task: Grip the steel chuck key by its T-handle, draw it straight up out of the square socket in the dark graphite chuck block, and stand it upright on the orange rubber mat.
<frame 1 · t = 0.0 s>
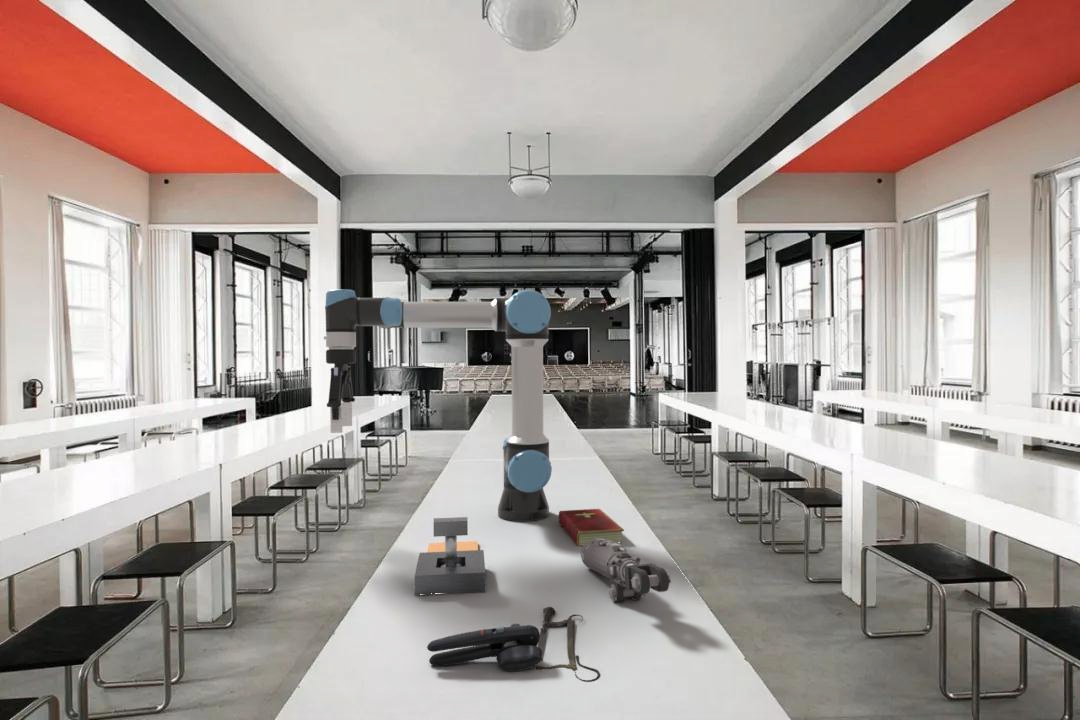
hand: (341, 429, 162), 28 cm above the table, tool pointing down, fingers open, 13 cm apart
key mat: (452, 553, 148), on the table
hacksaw: (568, 645, 102), on the table, touching can opener
chuck key: (451, 581, 130), resting in chuck block
can opener: (485, 664, 96), on the table, touching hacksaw
hardcover book: (589, 535, 164), on the table
hydraulic cylinder: (617, 590, 125), on the table
chuck block: (451, 580, 130), on the table
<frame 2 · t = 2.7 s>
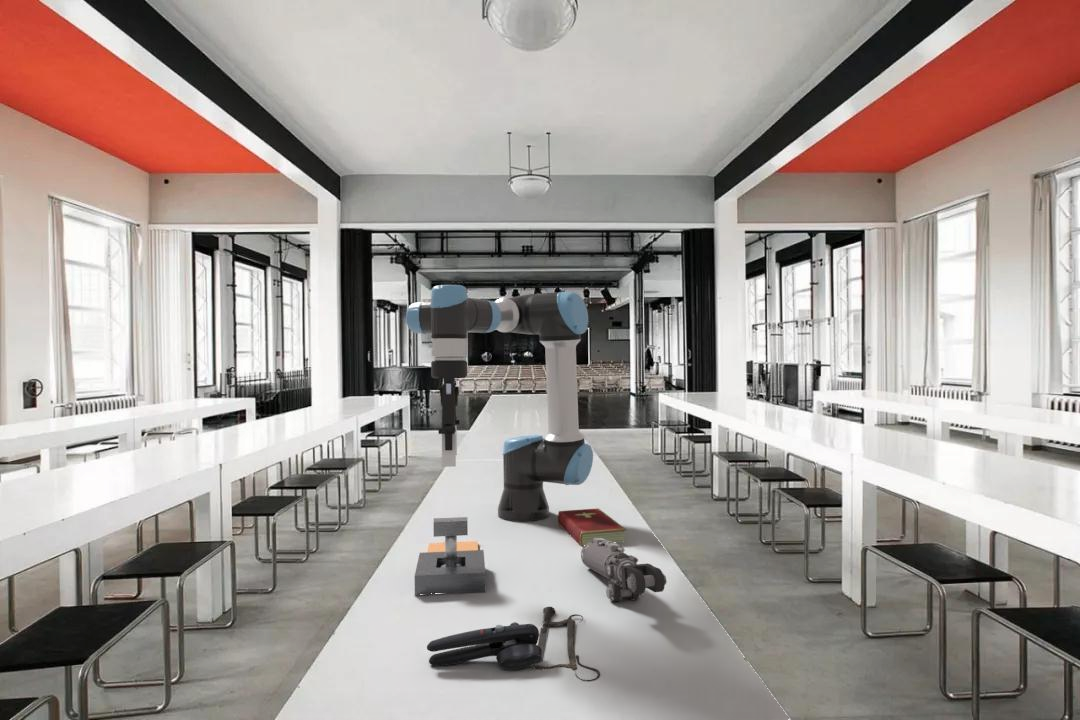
hand: (449, 460, 129), 25 cm above the table, tool pointing down, fingers open, 13 cm apart
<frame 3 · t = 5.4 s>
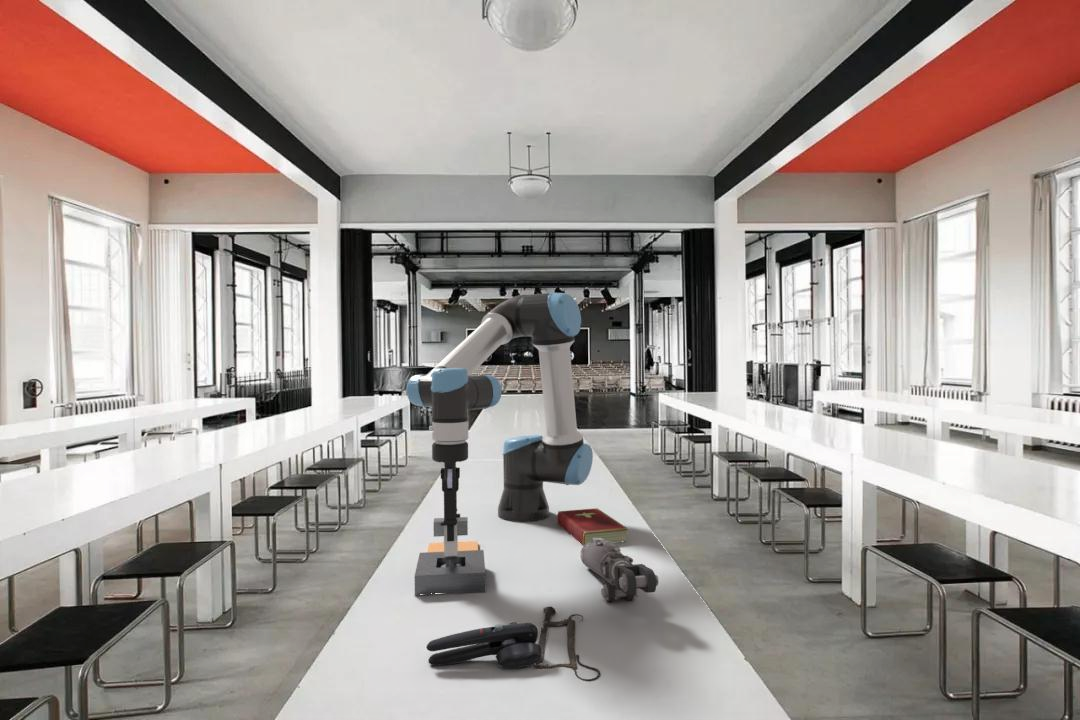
hand: (450, 552, 130), 6 cm above the table, tool pointing down, fingers closed on chuck key, 3 cm apart
chuck key: (451, 580, 130), resting in chuck block, touching gripper
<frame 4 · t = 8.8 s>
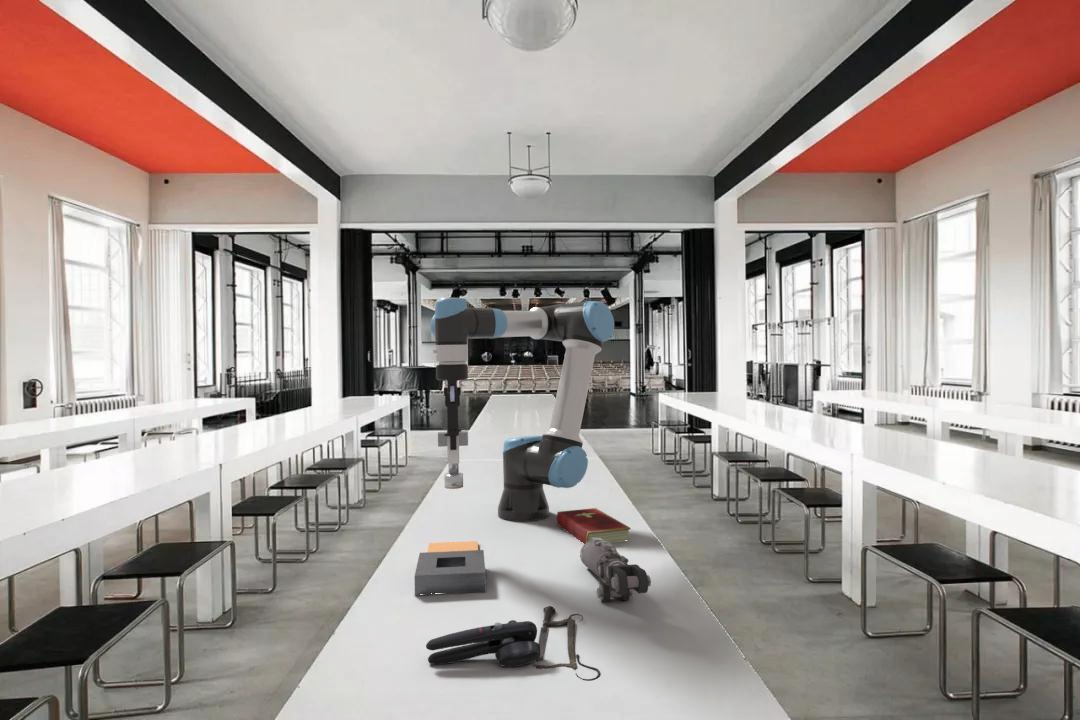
hand: (453, 461, 147), 22 cm above the table, tool pointing down, fingers closed on chuck key, 3 cm apart
chuck key: (453, 486, 147), point 16 cm above the table, touching gripper
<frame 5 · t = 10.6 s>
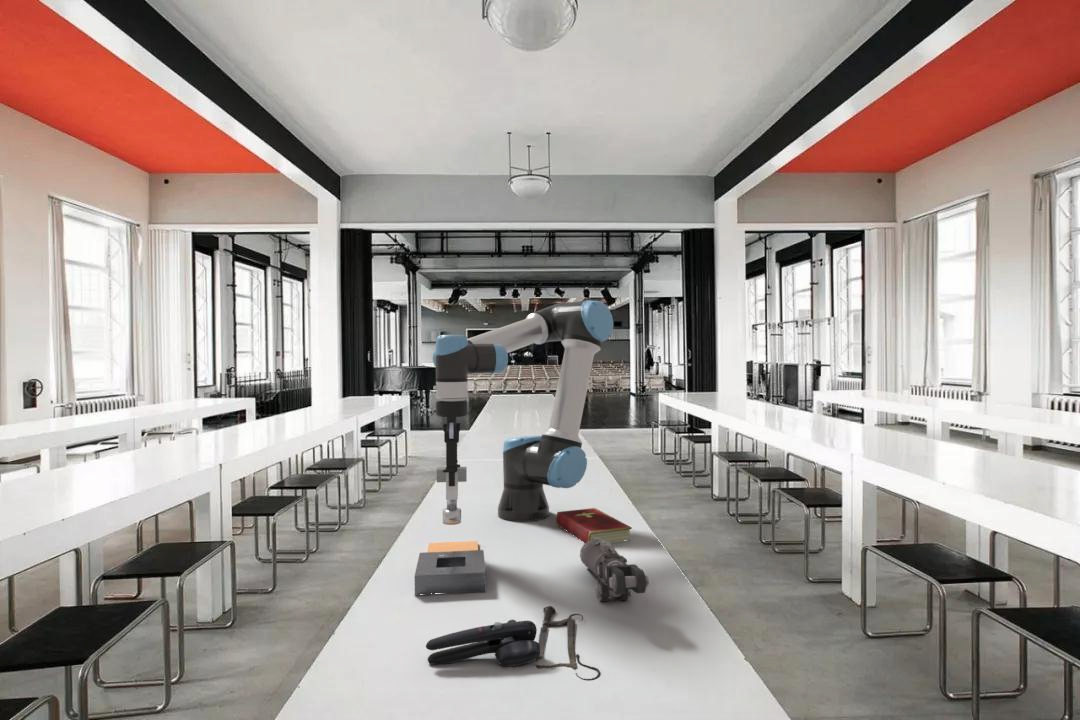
hand: (452, 497, 147), 13 cm above the table, tool pointing down, fingers closed on chuck key, 3 cm apart
chuck key: (451, 522, 147), point 7 cm above the table, touching gripper
when the fingers open (9 cm above the table, at t = 12.1 s): chuck key drops 2 cm, resting on key mat.
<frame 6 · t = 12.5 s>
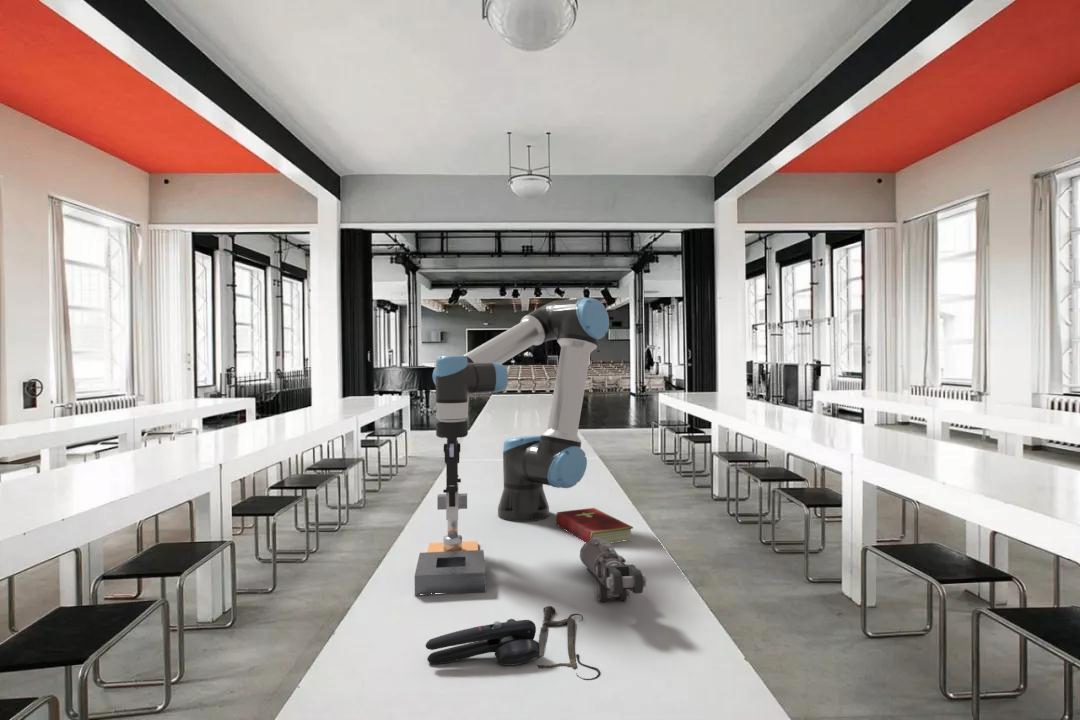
hand: (452, 514, 147), 9 cm above the table, tool pointing down, fingers open, 8 cm apart
chuck key: (452, 549, 148), point 1 cm above the table, touching key mat
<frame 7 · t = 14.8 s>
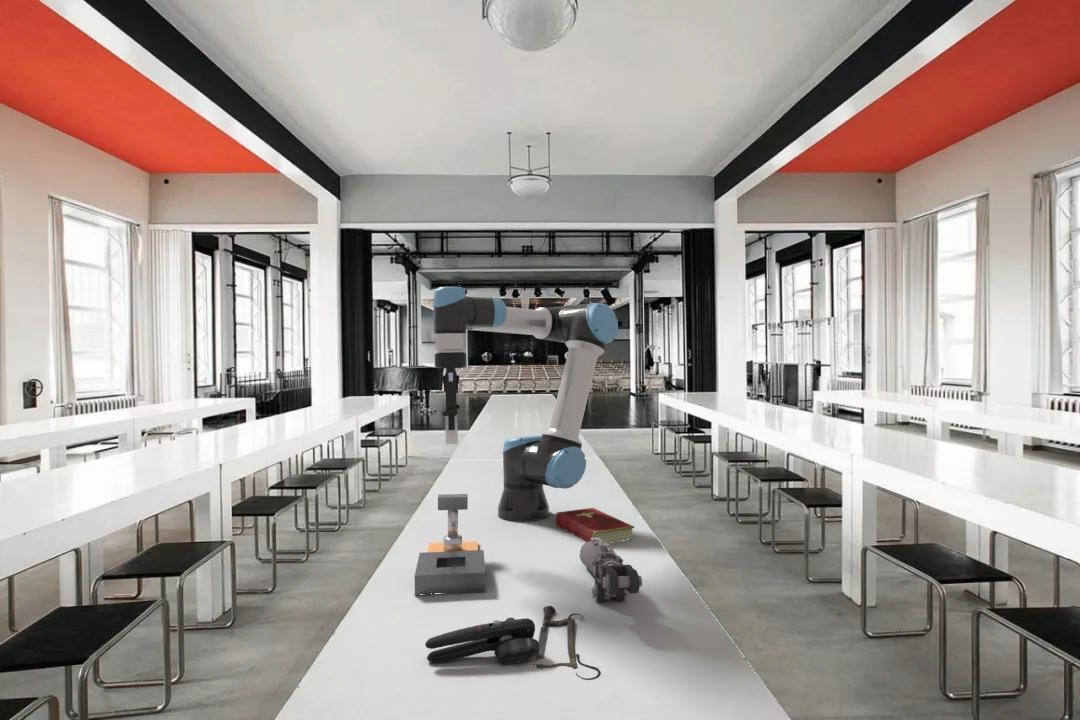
hand: (451, 439, 148), 27 cm above the table, tool pointing down, fingers open, 13 cm apart
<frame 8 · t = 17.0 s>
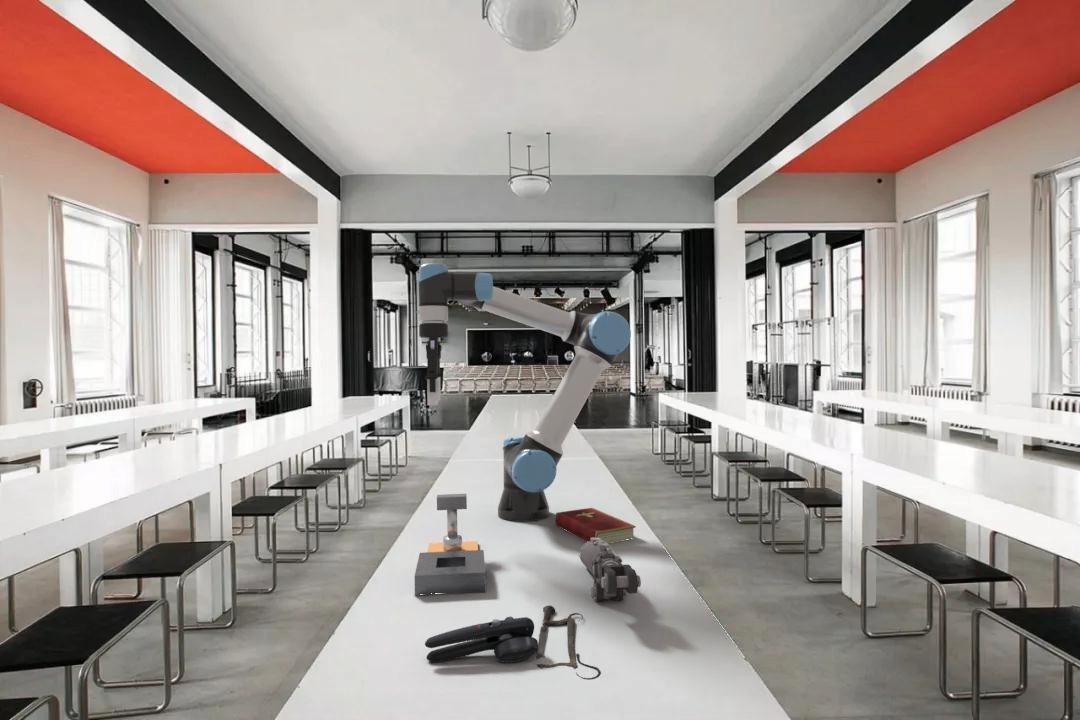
hand: (434, 403, 163), 35 cm above the table, tool pointing down, fingers open, 13 cm apart
at the end: chuck key inside the target area on the key mat (0.0 cm from its centre), point 0.8 cm above the key mat's base; chuck key tilted 1°; the gripper is holding nothing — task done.
